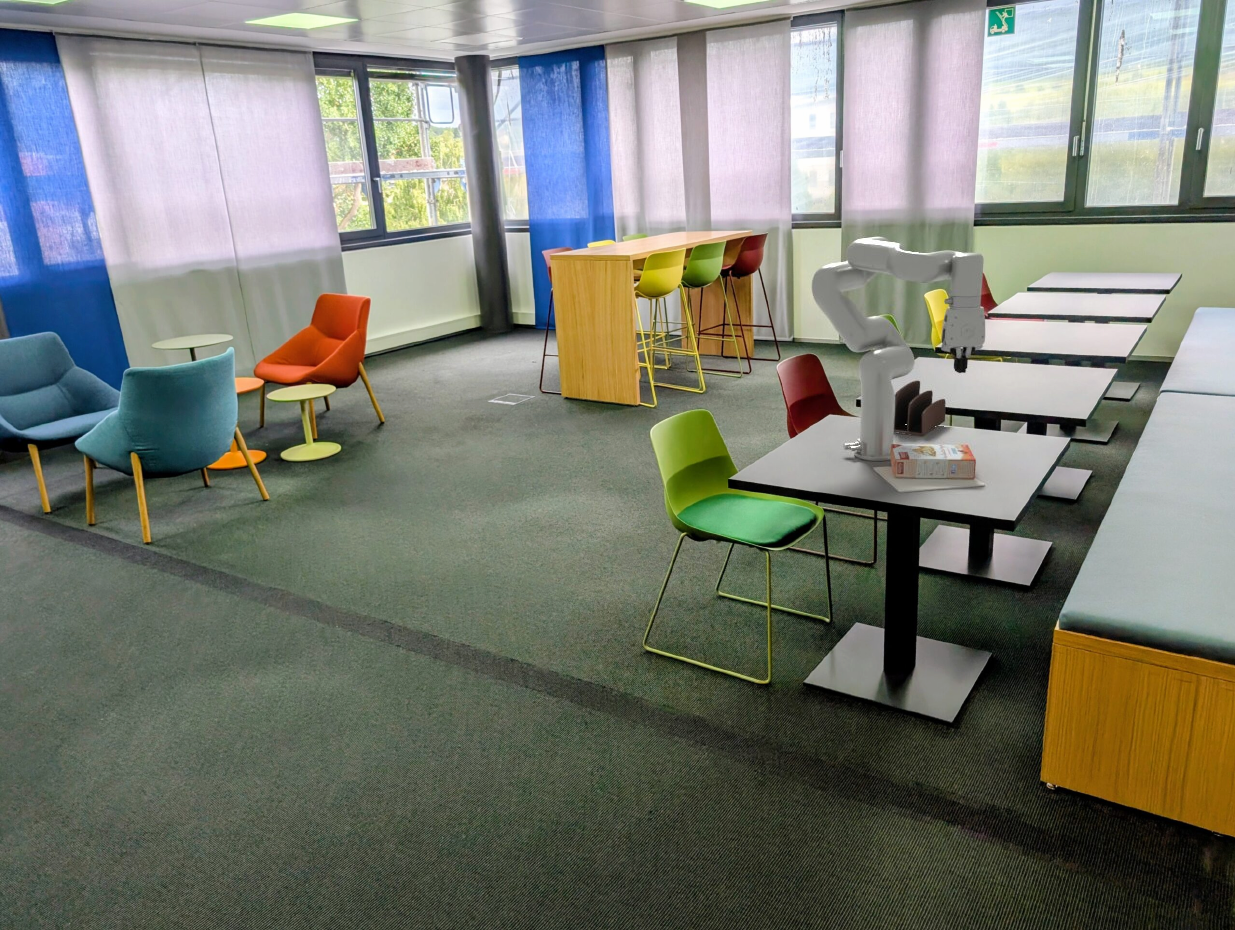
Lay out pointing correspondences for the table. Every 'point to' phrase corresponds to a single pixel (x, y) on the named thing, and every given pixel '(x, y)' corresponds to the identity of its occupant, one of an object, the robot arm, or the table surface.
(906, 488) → the mat
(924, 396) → the letter holder
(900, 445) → the cracker box
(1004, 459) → the table surface
